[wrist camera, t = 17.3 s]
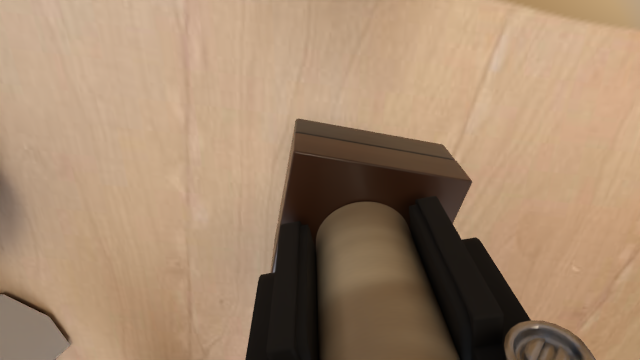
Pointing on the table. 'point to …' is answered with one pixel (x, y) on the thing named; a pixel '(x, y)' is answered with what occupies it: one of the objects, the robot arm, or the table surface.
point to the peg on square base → (370, 238)
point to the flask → (27, 333)
